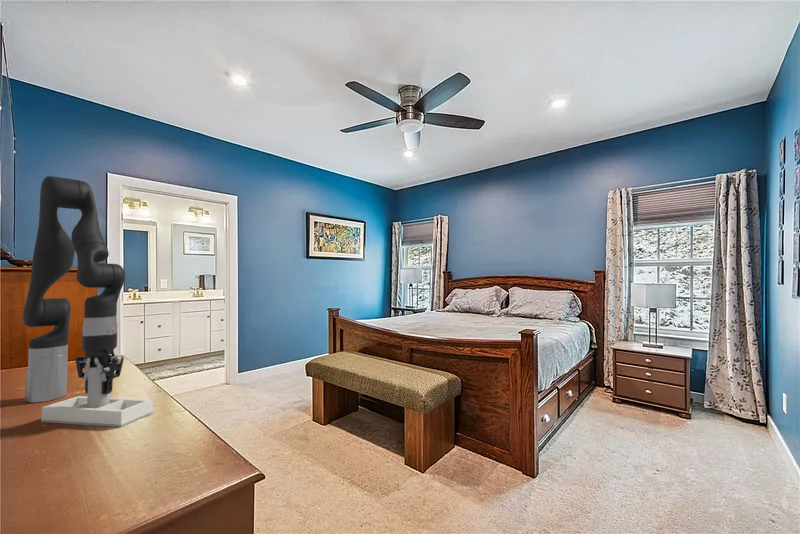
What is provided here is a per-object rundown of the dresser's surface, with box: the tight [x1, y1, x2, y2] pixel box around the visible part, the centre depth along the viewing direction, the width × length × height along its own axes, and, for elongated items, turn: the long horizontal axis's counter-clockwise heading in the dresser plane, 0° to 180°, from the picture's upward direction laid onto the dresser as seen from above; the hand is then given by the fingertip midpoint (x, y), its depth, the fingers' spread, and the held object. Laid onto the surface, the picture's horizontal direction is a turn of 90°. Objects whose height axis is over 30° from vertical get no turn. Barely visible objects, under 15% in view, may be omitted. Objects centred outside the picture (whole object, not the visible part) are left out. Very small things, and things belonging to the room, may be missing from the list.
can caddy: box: [40, 395, 154, 428], centre depth 97 cm, size 26×9×4 cm, turn 81°
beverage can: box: [87, 367, 111, 408], centre depth 97 cm, size 5×5×12 cm
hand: (98, 392), depth 97 cm, fingers closed on beverage can, 5 cm apart
